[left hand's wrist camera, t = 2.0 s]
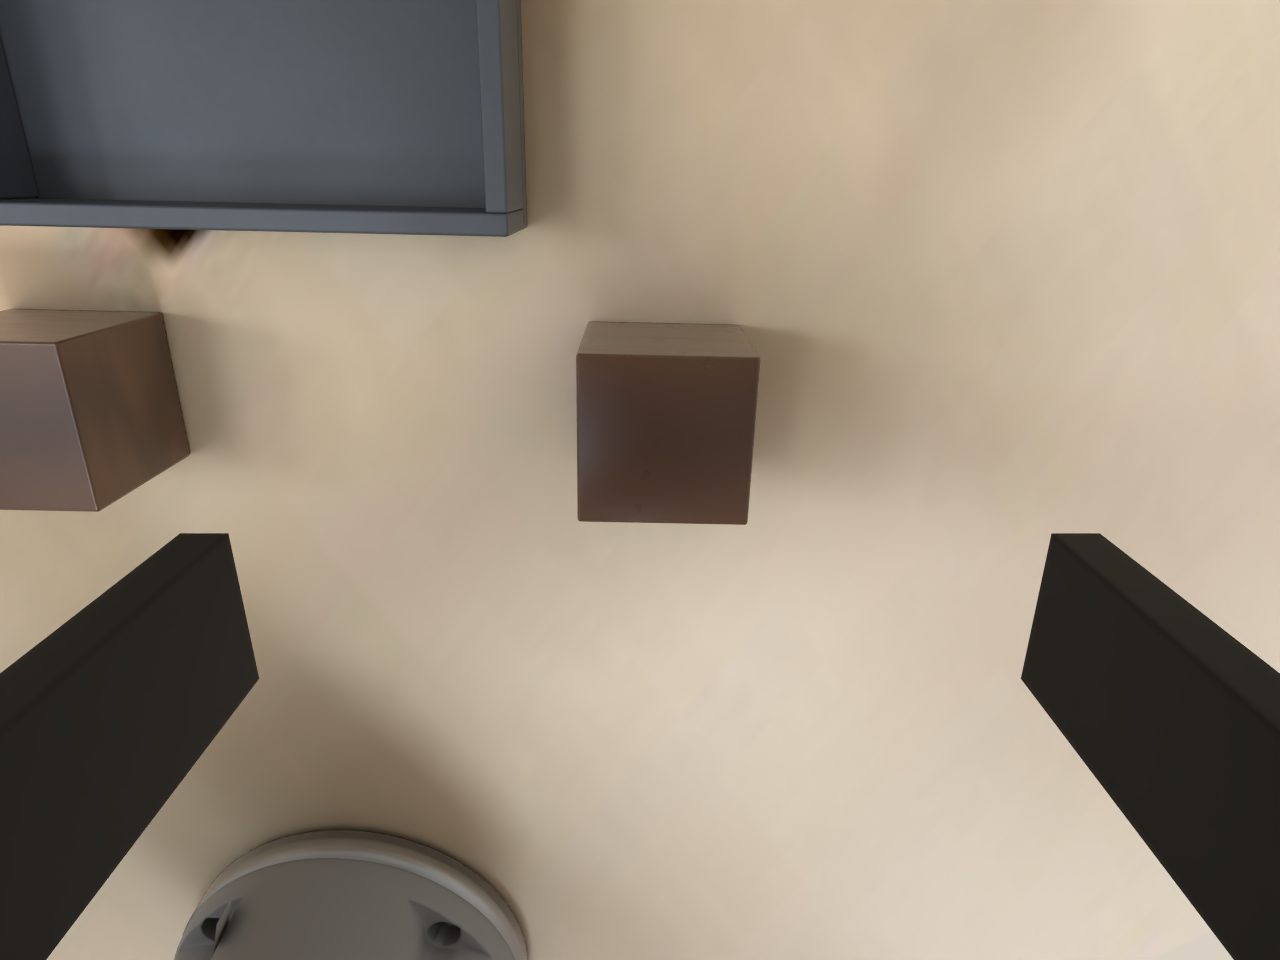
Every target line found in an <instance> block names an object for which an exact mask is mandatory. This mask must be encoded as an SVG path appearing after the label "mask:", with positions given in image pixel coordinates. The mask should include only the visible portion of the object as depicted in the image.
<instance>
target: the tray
mask: <svg viewBox="0 0 1280 960" xmlns="http://www.w3.org/2000/svg"><path fill="white" fill-rule="evenodd" d="M0 225H11V226H56V227H100V228H145V229H190V230H234V231H279V232H323V233H368V234H412V235H457V236H501V237H506V236H509V235H511V234H513V233H515V232H517V231H520V230H522V229H524V228H526V227H527V203H526V170H525V136H524V103H523V70H522V36H521V3H520V0H0Z"/></svg>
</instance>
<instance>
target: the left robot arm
mask: <svg viewBox="0 0 1280 960" xmlns="http://www.w3.org/2000/svg"><path fill="white" fill-rule="evenodd" d="M258 679H259V676H258V671H257V667H256V662H255V657H254V653H253V648H252V643H251V638H250V634H249V629H248V624H247V619H246V615H245V610H244V605H243V601H242V596H241V591H240V586H239V582H238V577H237V572H236V567H235V563H234V558H233V553H232V549H231V544H230V539H229V534H179V535H178V536H176V537H175V538H174V539H173V540H171V541H170V542H169V543H167V544H166V545H165V546H164V547H162V548H161V549H160V550H158V551H157V552H156V553H155V554H153V555H152V556H151V557H149V558H148V559H147V560H146V561H144V562H143V563H142V564H140V565H139V566H138V567H137V568H135V569H134V570H133V571H131V572H130V573H129V574H128V575H126V576H125V577H124V578H122V579H121V580H120V581H119V582H117V583H116V584H115V585H113V586H112V587H111V588H110V589H108V590H107V591H106V592H104V593H103V594H102V595H101V596H99V597H98V598H97V599H95V600H94V601H93V602H92V603H90V604H89V605H88V606H86V607H85V608H84V609H83V610H81V611H80V612H79V613H77V614H76V615H75V616H74V617H72V618H71V619H70V620H68V621H67V622H66V623H65V624H63V625H62V626H61V627H59V628H58V629H57V630H56V631H54V632H53V633H52V634H50V635H49V636H48V637H47V638H45V639H44V640H43V641H41V642H40V643H39V644H38V645H36V646H35V647H34V648H32V649H31V650H30V651H29V652H27V653H26V654H25V655H23V656H22V657H21V658H20V659H18V660H17V661H16V662H14V663H13V664H12V665H11V666H9V667H8V668H7V669H5V670H4V671H3V672H2V673H0V960H46V959H47V958H48V956H49V955H50V954H51V952H52V951H53V950H54V949H55V947H56V946H57V945H58V943H59V942H60V941H61V939H62V938H63V937H64V935H65V934H66V933H67V931H68V930H69V929H70V927H71V926H72V925H73V923H74V922H75V921H76V919H77V918H78V917H79V916H80V914H81V913H82V912H83V910H84V909H85V908H86V906H87V905H88V904H89V902H90V901H91V900H92V898H93V897H94V896H95V894H96V893H97V892H98V890H99V889H100V888H101V887H102V885H103V884H104V883H105V881H106V880H107V879H108V877H109V876H110V875H111V873H112V872H113V871H114V869H115V868H116V867H117V865H118V864H119V863H120V861H121V860H122V859H123V857H124V856H125V855H126V854H127V852H128V851H129V850H130V848H131V847H132V846H133V844H134V843H135V842H136V840H137V839H138V838H139V836H140V835H141V834H142V832H143V831H144V830H145V828H146V827H147V826H148V824H149V823H150V822H151V821H152V819H153V818H154V817H155V815H156V814H157V813H158V811H159V810H160V809H161V807H162V806H163V805H164V803H165V802H166V801H167V799H168V798H169V797H170V795H171V794H172V793H173V792H174V790H175V789H176V788H177V786H178V785H179V784H180V782H181V781H182V780H183V778H184V777H185V776H186V774H187V773H188V772H189V770H190V769H191V768H192V766H193V765H194V764H195V762H196V761H197V760H198V759H199V757H200V756H201V755H202V753H203V752H204V751H205V749H206V748H207V747H208V745H209V744H210V743H211V741H212V740H213V739H214V737H215V736H216V735H217V733H218V732H219V731H220V730H221V728H222V727H223V726H224V724H225V723H226V722H227V720H228V719H229V718H230V716H231V715H232V714H233V712H234V711H235V710H236V708H237V707H238V706H239V704H240V703H241V702H242V700H243V699H244V698H245V697H246V695H247V694H248V693H249V691H250V690H251V689H252V687H253V686H254V685H255V683H256V682H257V681H258ZM1021 679H1022V681H1023V682H1024V683H1025V685H1026V686H1027V687H1028V689H1029V690H1030V691H1031V693H1032V694H1033V695H1034V697H1035V698H1036V699H1037V700H1038V702H1039V703H1040V704H1041V706H1042V707H1043V708H1044V710H1045V711H1046V712H1047V714H1048V715H1049V716H1050V718H1051V719H1052V720H1053V722H1054V723H1055V724H1056V726H1057V727H1058V728H1059V730H1060V731H1061V732H1062V733H1063V735H1064V736H1065V737H1066V739H1067V740H1068V741H1069V743H1070V744H1071V745H1072V747H1073V748H1074V749H1075V751H1076V752H1077V753H1078V755H1079V756H1080V757H1081V759H1082V760H1083V761H1084V762H1085V764H1086V765H1087V766H1088V768H1089V769H1090V770H1091V772H1092V773H1093V774H1094V776H1095V777H1096V778H1097V780H1098V781H1099V782H1100V784H1101V785H1102V786H1103V788H1104V789H1105V790H1106V792H1107V793H1108V794H1109V795H1110V797H1111V798H1112V799H1113V801H1114V802H1115V803H1116V805H1117V806H1118V807H1119V809H1120V810H1121V811H1122V813H1123V814H1124V815H1125V817H1126V818H1127V819H1128V821H1129V822H1130V823H1131V824H1132V826H1133V827H1134V828H1135V830H1136V831H1137V832H1138V834H1139V835H1140V836H1141V838H1142V839H1143V840H1144V842H1145V843H1146V844H1147V846H1148V847H1149V848H1150V850H1151V851H1152V852H1153V854H1154V855H1155V856H1156V857H1157V859H1158V860H1159V861H1160V863H1161V864H1162V865H1163V867H1164V868H1165V869H1166V871H1167V872H1168V873H1169V875H1170V876H1171V877H1172V879H1173V880H1174V881H1175V883H1176V884H1177V885H1178V887H1179V888H1180V889H1181V890H1182V892H1183V893H1184V894H1185V896H1186V897H1187V898H1188V900H1189V901H1190V902H1191V904H1192V905H1193V906H1194V908H1195V909H1196V910H1197V912H1198V913H1199V914H1200V916H1201V917H1202V918H1203V919H1204V921H1205V922H1206V923H1207V925H1208V926H1209V927H1210V929H1211V930H1212V931H1213V933H1214V934H1215V935H1216V937H1217V938H1218V939H1219V941H1220V942H1221V943H1222V945H1223V946H1224V947H1225V948H1226V950H1227V951H1228V952H1229V954H1230V955H1231V956H1232V958H1233V959H1234V960H1280V673H1278V672H1277V671H1276V670H1275V669H1273V668H1272V667H1271V666H1269V665H1268V664H1267V663H1266V662H1264V661H1263V660H1262V659H1260V658H1259V657H1258V656H1257V655H1255V654H1254V653H1253V652H1251V651H1250V650H1249V649H1248V648H1246V647H1245V646H1244V645H1242V644H1241V643H1240V642H1239V641H1237V640H1236V639H1235V638H1233V637H1232V636H1231V635H1230V634H1228V633H1227V632H1226V631H1224V630H1223V629H1222V628H1221V627H1219V626H1218V625H1217V624H1215V623H1214V622H1213V621H1212V620H1210V619H1209V618H1208V617H1206V616H1205V615H1204V614H1203V613H1201V612H1200V611H1199V610H1197V609H1196V608H1195V607H1194V606H1192V605H1191V604H1190V603H1188V602H1187V601H1186V600H1185V599H1183V598H1182V597H1181V596H1179V595H1178V594H1177V593H1176V592H1174V591H1173V590H1172V589H1170V588H1169V587H1168V586H1167V585H1165V584H1164V583H1163V582H1161V581H1160V580H1159V579H1158V578H1156V577H1155V576H1154V575H1152V574H1151V573H1150V572H1149V571H1147V570H1146V569H1145V568H1143V567H1142V566H1141V565H1140V564H1138V563H1137V562H1136V561H1134V560H1133V559H1132V558H1131V557H1129V556H1128V555H1127V554H1125V553H1124V552H1123V551H1122V550H1120V549H1119V548H1118V547H1116V546H1115V545H1114V544H1113V543H1111V542H1110V541H1109V540H1107V539H1106V538H1105V537H1104V536H1102V535H1101V534H1051V539H1050V544H1049V549H1048V553H1047V558H1046V563H1045V567H1044V572H1043V577H1042V582H1041V586H1040V591H1039V596H1038V601H1037V605H1036V610H1035V615H1034V619H1033V624H1032V629H1031V634H1030V638H1029V643H1028V648H1027V653H1026V657H1025V662H1024V667H1023V672H1022V676H1021ZM174 960H527V950H526V945H525V941H524V937H523V934H522V931H521V929H520V926H519V924H518V922H517V920H516V918H515V916H514V915H513V913H512V911H511V910H510V908H509V907H508V906H507V904H506V903H505V901H504V900H503V899H502V898H501V897H500V896H499V894H498V893H497V892H496V891H495V890H494V889H493V888H492V887H491V886H490V885H489V884H488V883H487V882H486V881H485V880H483V879H482V878H481V877H479V876H478V875H477V874H476V873H474V872H473V871H472V870H470V869H469V868H467V867H466V866H464V865H463V864H461V863H460V862H458V861H456V860H454V859H452V858H450V857H449V856H447V855H445V854H443V853H441V852H438V851H436V850H434V849H432V848H429V847H427V846H424V845H421V844H418V843H416V842H413V841H409V840H406V839H402V838H399V837H395V836H390V835H385V834H380V833H372V832H365V831H351V830H326V831H316V832H308V833H302V834H297V835H292V836H288V837H284V838H281V839H277V840H274V841H272V842H269V843H266V844H264V845H261V846H259V847H257V848H255V849H253V850H251V851H249V852H247V853H246V854H244V855H243V856H241V857H239V858H238V859H236V860H235V861H234V862H233V863H231V864H230V865H229V866H227V867H226V868H225V869H224V870H223V871H222V872H221V873H220V874H219V875H218V876H217V878H216V879H215V880H214V881H213V883H212V884H211V885H210V887H209V888H208V890H207V892H206V893H205V895H204V897H203V898H202V900H201V902H200V903H199V905H198V907H197V908H196V910H195V912H194V913H193V915H192V917H191V918H190V920H189V922H188V924H187V926H186V928H185V931H184V933H183V936H182V939H181V941H180V944H179V946H178V949H177V952H176V955H175V959H174Z"/></svg>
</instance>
